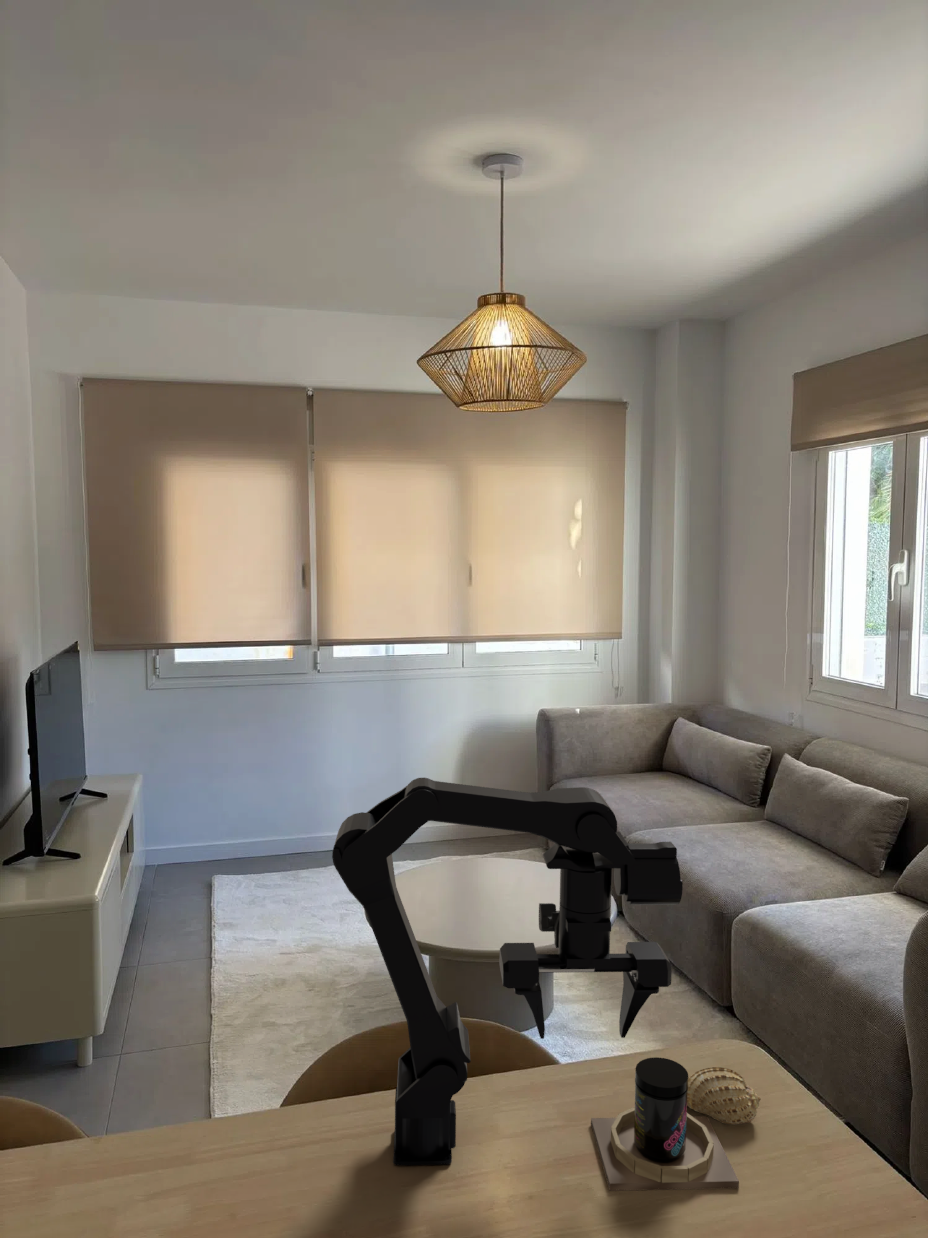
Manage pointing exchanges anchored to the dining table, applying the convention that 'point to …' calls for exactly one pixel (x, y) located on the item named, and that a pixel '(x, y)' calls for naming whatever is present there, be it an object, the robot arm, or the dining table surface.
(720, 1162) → the collar board
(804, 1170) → the dining table surface
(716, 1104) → the seashell
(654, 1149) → the supplement container
